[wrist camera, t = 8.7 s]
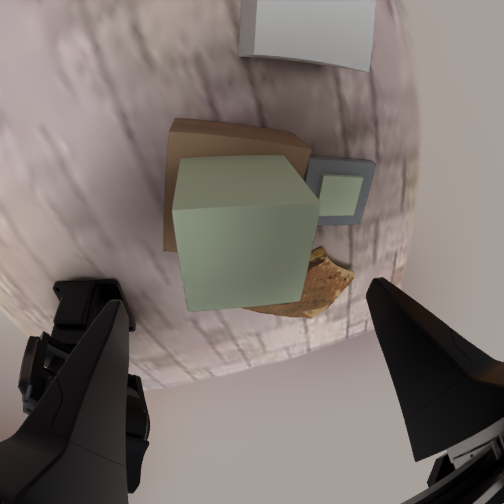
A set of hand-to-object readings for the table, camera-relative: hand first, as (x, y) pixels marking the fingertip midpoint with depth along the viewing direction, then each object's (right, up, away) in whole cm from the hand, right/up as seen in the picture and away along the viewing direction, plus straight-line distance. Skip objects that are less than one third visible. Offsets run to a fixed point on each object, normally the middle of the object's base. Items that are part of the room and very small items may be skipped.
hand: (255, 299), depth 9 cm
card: (+6, +6, +9) cm, 12 cm away
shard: (+3, -2, +16) cm, 16 cm away
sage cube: (-1, +4, +5) cm, 7 cm away
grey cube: (+2, +14, +2) cm, 14 cm away
